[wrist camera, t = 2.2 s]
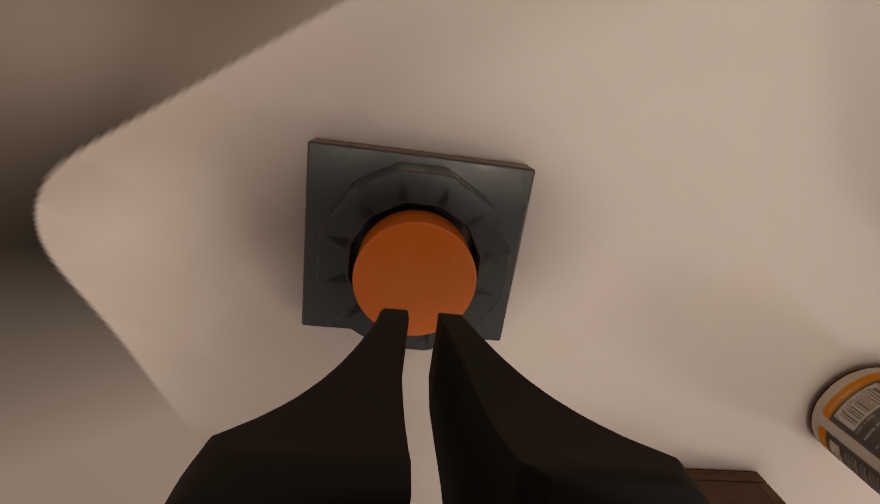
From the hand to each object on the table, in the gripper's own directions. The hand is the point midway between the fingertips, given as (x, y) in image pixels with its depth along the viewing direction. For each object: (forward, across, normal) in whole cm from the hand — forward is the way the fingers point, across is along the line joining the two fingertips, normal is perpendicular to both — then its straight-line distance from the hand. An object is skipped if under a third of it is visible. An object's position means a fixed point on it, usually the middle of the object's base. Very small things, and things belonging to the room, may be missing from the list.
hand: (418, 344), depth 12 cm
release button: (+6, 0, 0) cm, 6 cm away
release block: (+8, 0, 0) cm, 8 cm away
